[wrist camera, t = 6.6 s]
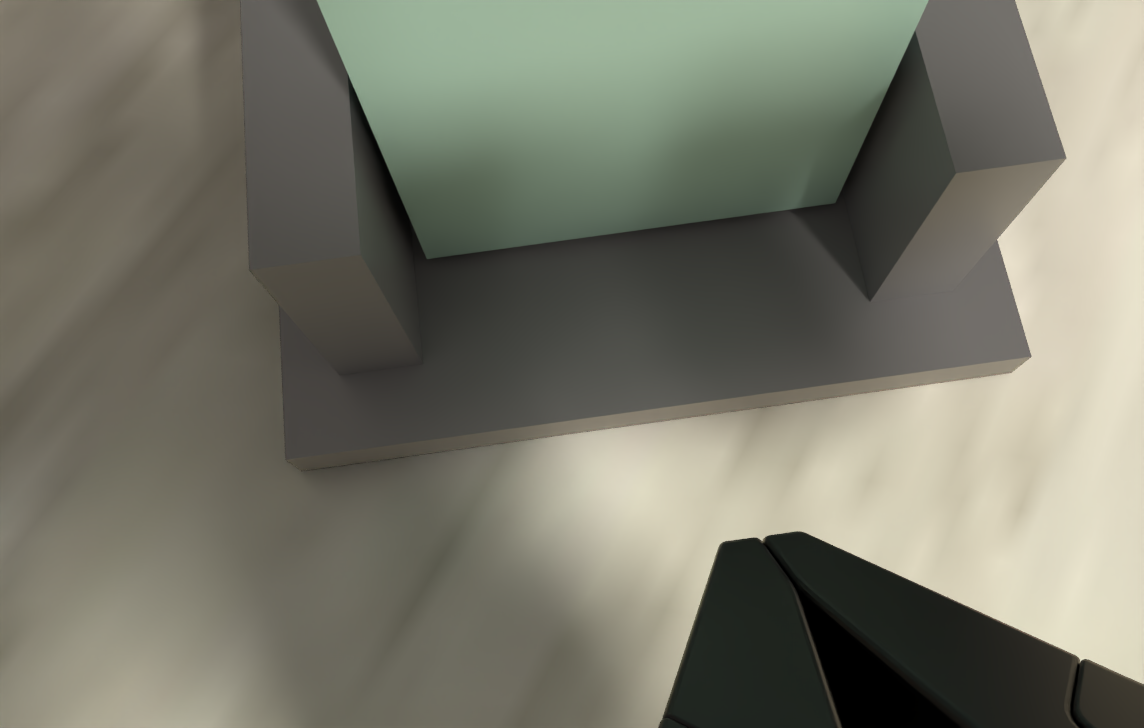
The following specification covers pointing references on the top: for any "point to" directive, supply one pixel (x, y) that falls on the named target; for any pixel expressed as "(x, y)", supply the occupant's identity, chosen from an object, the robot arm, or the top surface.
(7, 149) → the top surface
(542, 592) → the top surface
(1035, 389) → the top surface
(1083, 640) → the top surface
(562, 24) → the pale green tall block
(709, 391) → the switch housing
